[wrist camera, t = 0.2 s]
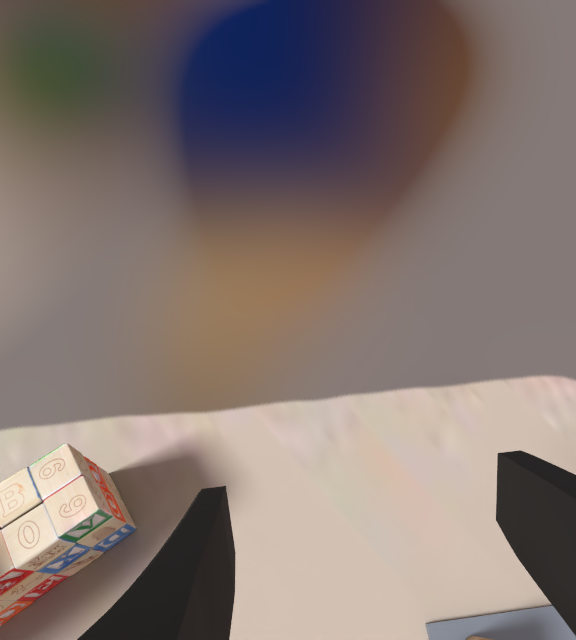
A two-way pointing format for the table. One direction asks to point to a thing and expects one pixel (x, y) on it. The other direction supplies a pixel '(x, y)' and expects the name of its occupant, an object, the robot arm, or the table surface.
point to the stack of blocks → (55, 525)
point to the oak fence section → (476, 638)
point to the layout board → (505, 626)
